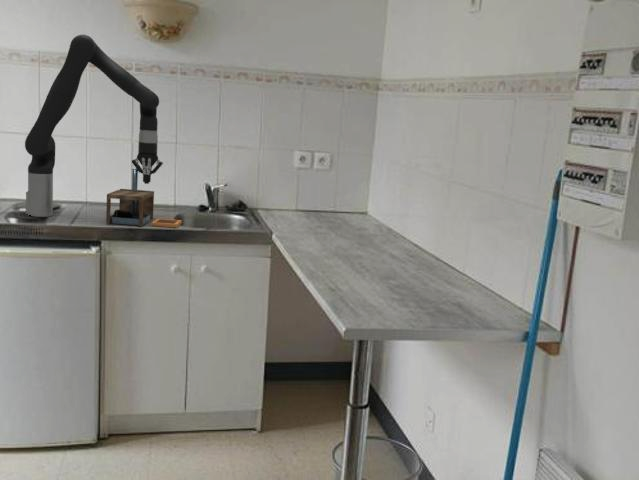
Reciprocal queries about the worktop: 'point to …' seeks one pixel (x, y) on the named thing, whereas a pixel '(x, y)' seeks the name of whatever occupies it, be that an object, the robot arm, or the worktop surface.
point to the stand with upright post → (133, 207)
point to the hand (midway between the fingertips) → (146, 183)
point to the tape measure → (122, 214)
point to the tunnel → (126, 196)
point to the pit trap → (166, 223)
